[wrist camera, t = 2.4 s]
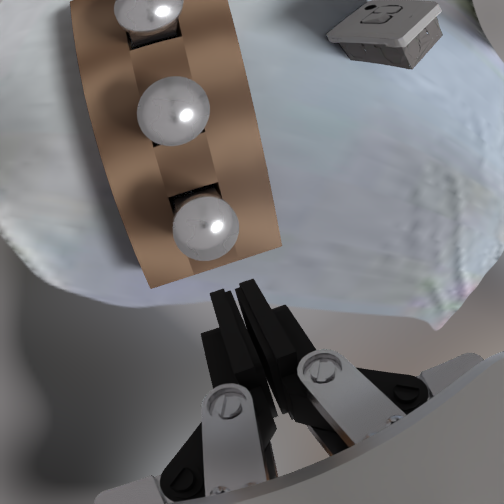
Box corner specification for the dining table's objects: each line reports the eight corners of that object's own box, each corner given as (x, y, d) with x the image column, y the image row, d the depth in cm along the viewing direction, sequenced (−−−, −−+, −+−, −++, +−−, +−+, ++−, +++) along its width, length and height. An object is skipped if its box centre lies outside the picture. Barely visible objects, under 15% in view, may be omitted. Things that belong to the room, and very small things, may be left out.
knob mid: (137, 96, 18) (129, 88, 14) (194, 80, 19) (201, 68, 15) (151, 150, 20) (147, 155, 16) (207, 133, 21) (217, 134, 17)
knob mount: (80, 15, 15) (69, 1, 12) (210, -20, 17) (217, -38, 14) (151, 270, 27) (150, 288, 24) (269, 232, 29) (282, 246, 26)
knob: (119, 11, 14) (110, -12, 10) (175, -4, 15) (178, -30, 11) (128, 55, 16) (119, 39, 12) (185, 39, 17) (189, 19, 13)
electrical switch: (368, 0, 20) (430, -13, 13) (392, 34, 23) (455, 31, 16) (320, 37, 22) (386, 22, 14) (350, 74, 25) (418, 75, 17)
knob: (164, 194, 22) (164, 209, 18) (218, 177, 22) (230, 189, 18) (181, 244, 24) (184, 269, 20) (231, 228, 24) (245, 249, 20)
